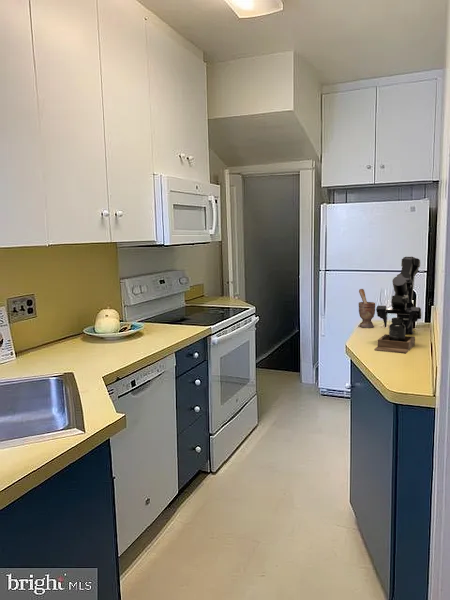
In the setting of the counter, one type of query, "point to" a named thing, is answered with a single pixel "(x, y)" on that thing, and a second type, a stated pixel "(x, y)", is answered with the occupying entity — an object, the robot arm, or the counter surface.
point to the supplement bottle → (397, 330)
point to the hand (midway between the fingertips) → (396, 327)
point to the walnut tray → (395, 344)
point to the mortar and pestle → (366, 311)
